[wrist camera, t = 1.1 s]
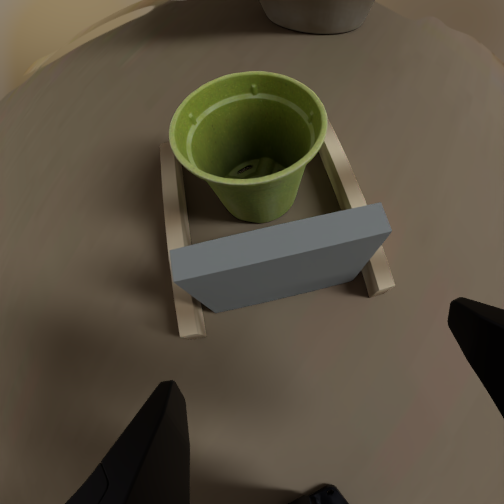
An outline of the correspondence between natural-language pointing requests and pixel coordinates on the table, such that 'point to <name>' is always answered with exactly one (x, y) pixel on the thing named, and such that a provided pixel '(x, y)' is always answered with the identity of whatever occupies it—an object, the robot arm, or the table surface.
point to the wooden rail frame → (179, 236)
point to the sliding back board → (280, 258)
